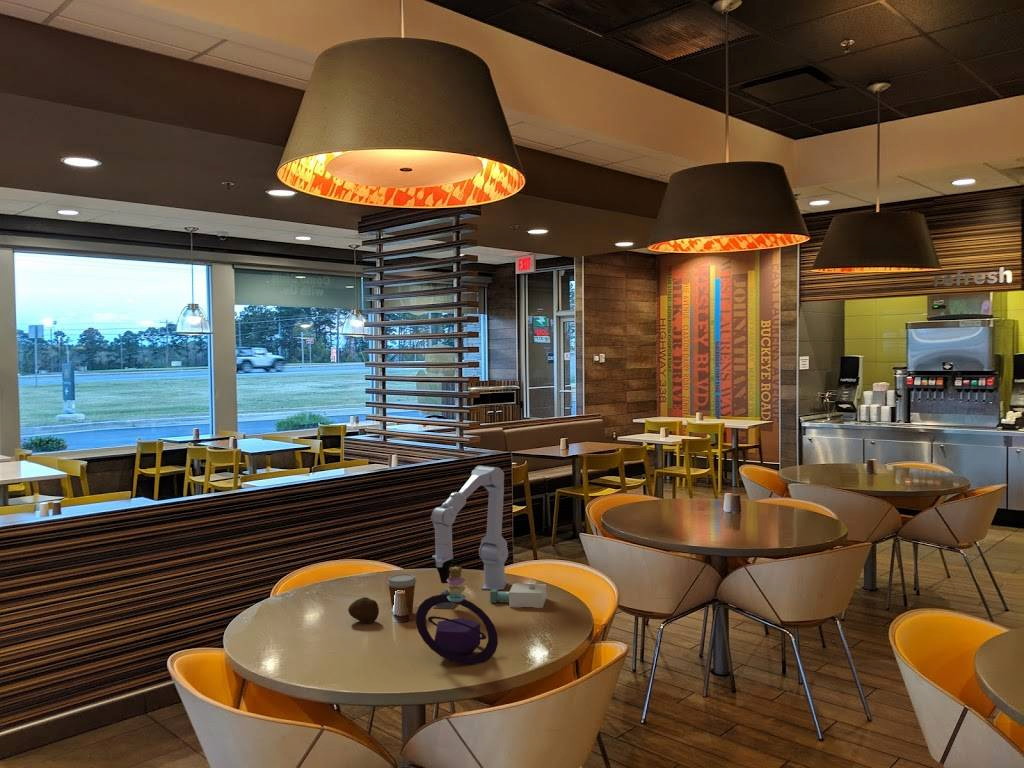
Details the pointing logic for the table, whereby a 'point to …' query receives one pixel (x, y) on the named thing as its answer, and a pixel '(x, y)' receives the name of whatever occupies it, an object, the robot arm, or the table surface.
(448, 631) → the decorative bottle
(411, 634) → the table surface
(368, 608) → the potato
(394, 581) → the disposable coffee cup
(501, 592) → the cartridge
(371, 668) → the table surface
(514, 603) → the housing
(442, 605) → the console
